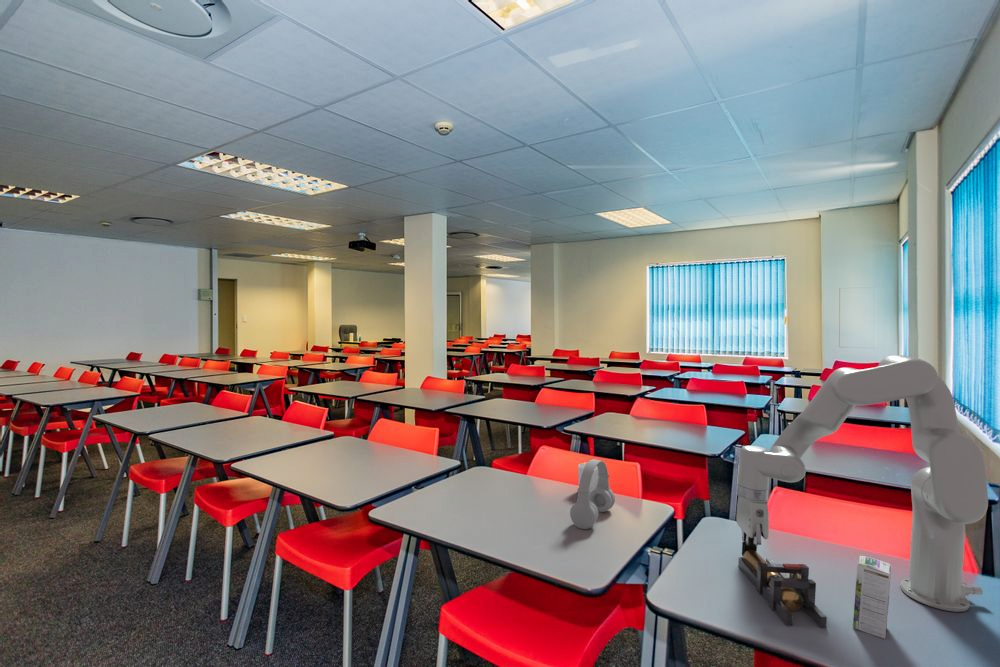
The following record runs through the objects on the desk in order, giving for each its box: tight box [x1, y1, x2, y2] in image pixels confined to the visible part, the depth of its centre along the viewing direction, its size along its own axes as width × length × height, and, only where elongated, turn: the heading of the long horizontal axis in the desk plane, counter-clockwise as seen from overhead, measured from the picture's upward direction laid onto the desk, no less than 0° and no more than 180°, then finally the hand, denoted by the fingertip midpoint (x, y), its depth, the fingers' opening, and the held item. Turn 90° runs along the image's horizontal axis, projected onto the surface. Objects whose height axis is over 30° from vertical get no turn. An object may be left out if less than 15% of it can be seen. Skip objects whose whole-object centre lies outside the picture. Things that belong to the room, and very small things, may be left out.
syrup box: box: [852, 555, 892, 639], centre depth 106 cm, size 6×6×14 cm
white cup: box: [577, 462, 599, 494], centre depth 182 cm, size 8×8×10 cm
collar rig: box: [737, 556, 828, 629], centre depth 118 cm, size 9×25×9 cm, turn 176°
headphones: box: [569, 458, 616, 530], centre depth 159 cm, size 20×8×19 cm, turn 148°
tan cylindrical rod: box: [742, 550, 802, 612], centre depth 121 cm, size 20×4×4 cm, turn 178°
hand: (748, 557), depth 133 cm, fingers closed
